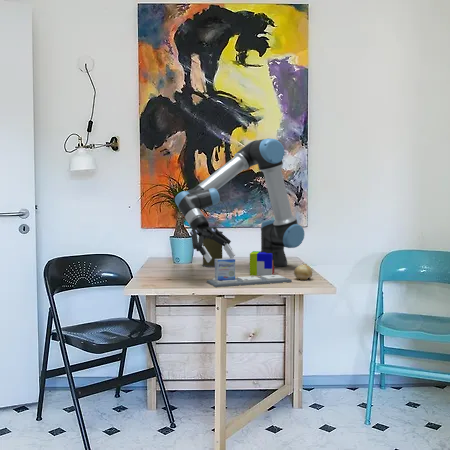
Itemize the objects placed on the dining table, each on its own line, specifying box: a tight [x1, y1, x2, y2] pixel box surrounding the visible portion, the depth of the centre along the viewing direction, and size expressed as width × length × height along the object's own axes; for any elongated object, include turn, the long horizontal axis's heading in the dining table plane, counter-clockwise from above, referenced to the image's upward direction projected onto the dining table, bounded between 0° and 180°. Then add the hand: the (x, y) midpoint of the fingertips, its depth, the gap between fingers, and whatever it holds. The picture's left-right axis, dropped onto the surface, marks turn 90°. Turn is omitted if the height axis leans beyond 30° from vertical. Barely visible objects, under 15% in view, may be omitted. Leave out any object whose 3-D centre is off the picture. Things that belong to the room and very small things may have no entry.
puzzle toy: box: [249, 250, 275, 277], centre depth 261 cm, size 10×10×10 cm
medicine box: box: [214, 257, 236, 281], centre depth 235 cm, size 8×4×9 cm, turn 106°
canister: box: [202, 226, 223, 268], centre depth 288 cm, size 11×10×20 cm
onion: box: [293, 263, 313, 281], centre depth 246 cm, size 8×8×7 cm
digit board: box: [206, 274, 293, 288], centre depth 239 cm, size 34×12×2 cm, turn 109°
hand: (221, 258), depth 235 cm, fingers open, 13 cm apart
